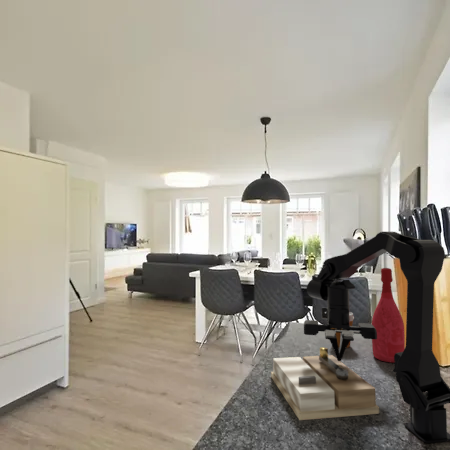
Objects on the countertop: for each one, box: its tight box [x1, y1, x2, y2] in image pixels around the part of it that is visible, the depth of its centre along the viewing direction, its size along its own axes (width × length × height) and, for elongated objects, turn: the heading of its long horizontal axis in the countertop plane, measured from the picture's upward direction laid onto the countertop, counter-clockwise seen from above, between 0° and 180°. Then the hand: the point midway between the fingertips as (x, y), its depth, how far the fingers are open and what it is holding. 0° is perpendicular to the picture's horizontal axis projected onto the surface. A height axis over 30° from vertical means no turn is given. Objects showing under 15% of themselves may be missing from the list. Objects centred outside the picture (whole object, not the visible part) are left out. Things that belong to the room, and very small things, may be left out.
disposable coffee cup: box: [331, 311, 355, 349], centre depth 124 cm, size 10×10×12 cm
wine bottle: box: [371, 267, 406, 364], centre depth 111 cm, size 10×10×30 cm
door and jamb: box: [270, 354, 380, 421], centre depth 86 cm, size 23×19×7 cm
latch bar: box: [318, 346, 348, 380], centre depth 87 cm, size 13×3×4 cm, turn 8°
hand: (339, 360), depth 92 cm, fingers closed
